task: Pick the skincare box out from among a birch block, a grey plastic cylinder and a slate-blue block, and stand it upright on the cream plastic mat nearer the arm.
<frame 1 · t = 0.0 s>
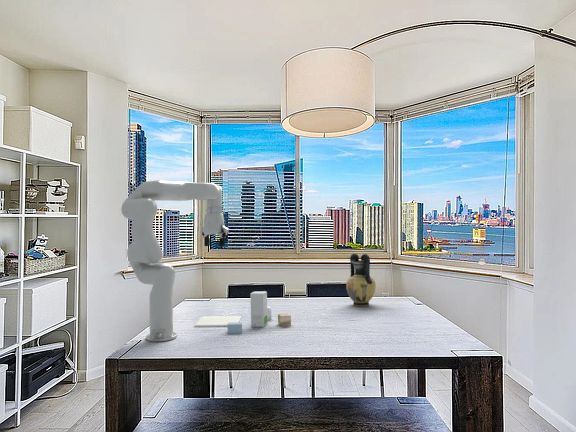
hand: (214, 246, 215), 37 cm above the table, tool pointing down, fingers open, 9 cm apart
birch block: (284, 325, 210), on the table
amphora: (361, 305, 259), on the table
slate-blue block: (234, 332, 196), on the table
grey plastic cylinder: (266, 319, 223), on the table
cream mat: (219, 321, 217), on the table
skincare box: (259, 325, 209), on the table
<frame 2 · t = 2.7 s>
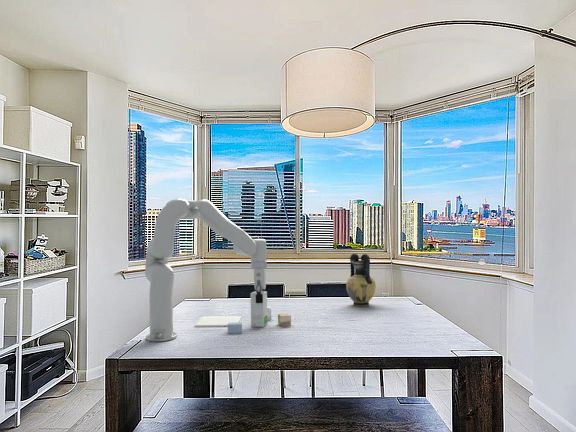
hand: (259, 301, 210), 11 cm above the table, tool pointing down, fingers open, 9 cm apart
skincare box: (259, 325, 209), on the table, touching gripper
everything else where it was.
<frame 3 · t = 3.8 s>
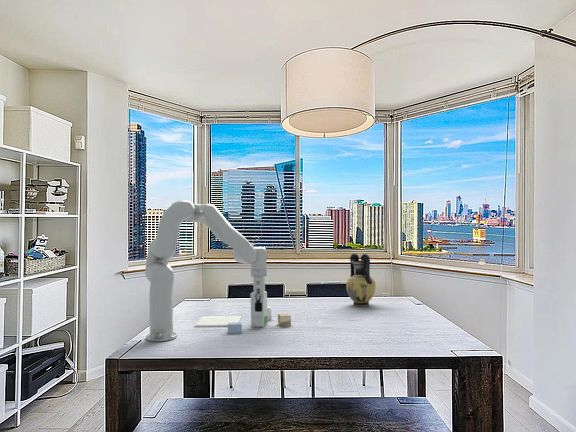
hand: (259, 309, 210), 7 cm above the table, tool pointing down, fingers closed on skincare box, 9 cm apart
skincare box: (259, 325, 210), on the table, touching gripper
everything else where it was.
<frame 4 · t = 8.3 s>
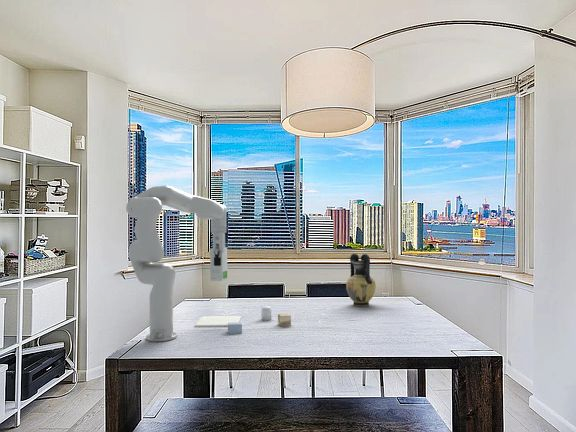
hand: (218, 264, 218), 28 cm above the table, tool pointing down, fingers closed on skincare box, 9 cm apart
skincare box: (218, 280, 217), point 20 cm above the table, touching gripper
everything else where it was.
when the fingers open (9 cm above the table, at t = 13.0 s): skincare box drops 1 cm, resting on cream mat.
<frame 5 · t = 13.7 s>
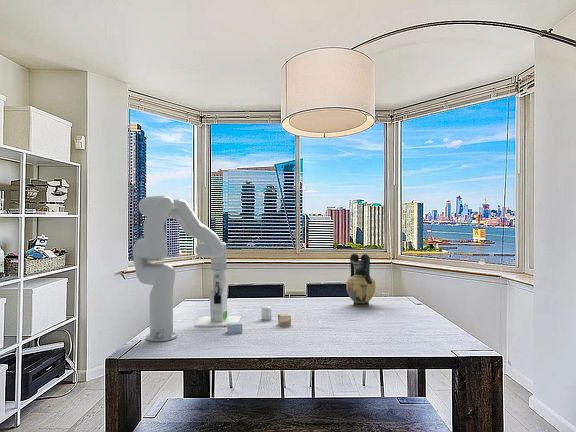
hand: (218, 302, 217), 10 cm above the table, tool pointing down, fingers open, 9 cm apart
skincare box: (218, 320, 217), point 1 cm above the table, touching cream mat, gripper
everything else where it was.
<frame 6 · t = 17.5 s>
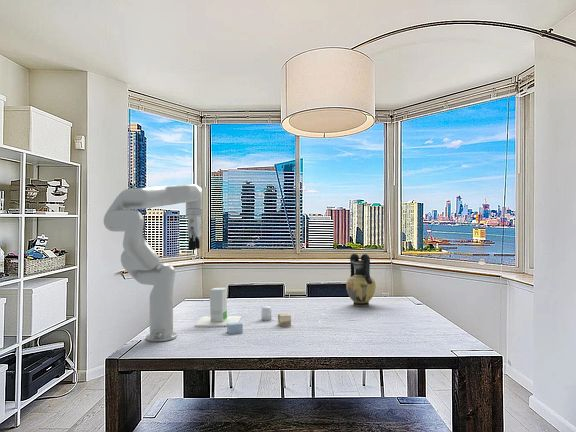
hand: (194, 249, 208), 36 cm above the table, tool pointing down, fingers open, 9 cm apart
skincare box: (218, 320, 217), point 1 cm above the table, touching cream mat
everything else where it was.
at the end: skincare box inside the target area on the cream mat (0.3 cm from its centre), point 0.6 cm above the cream mat's base; skincare box tilted 0°; the gripper is holding nothing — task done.
